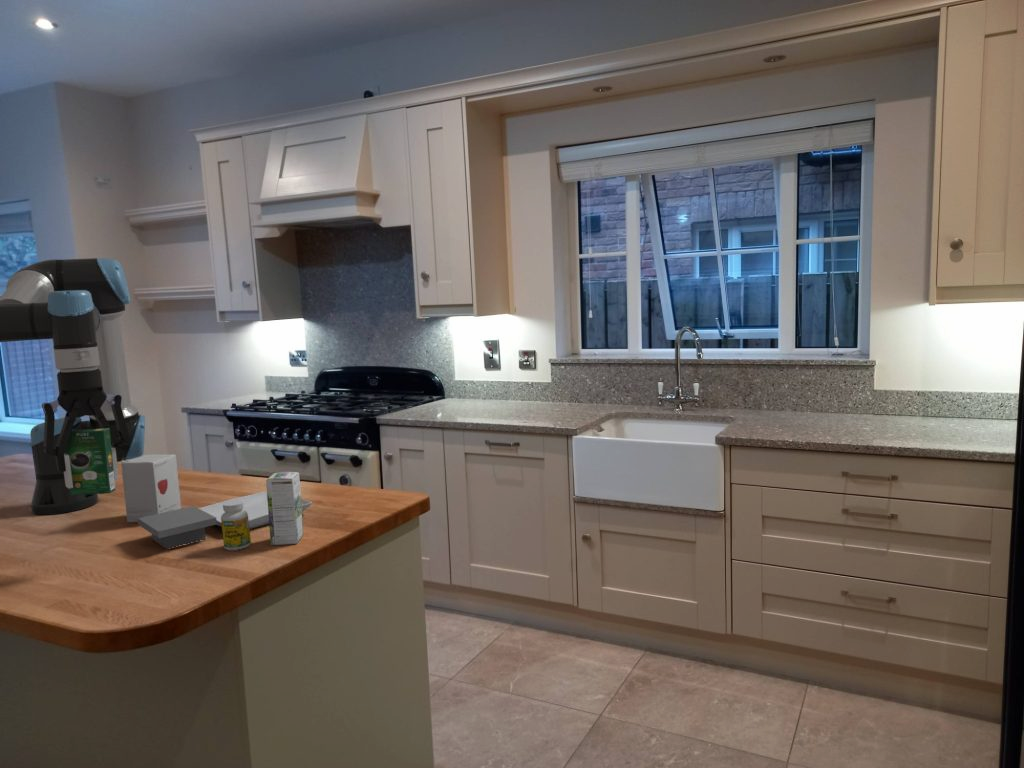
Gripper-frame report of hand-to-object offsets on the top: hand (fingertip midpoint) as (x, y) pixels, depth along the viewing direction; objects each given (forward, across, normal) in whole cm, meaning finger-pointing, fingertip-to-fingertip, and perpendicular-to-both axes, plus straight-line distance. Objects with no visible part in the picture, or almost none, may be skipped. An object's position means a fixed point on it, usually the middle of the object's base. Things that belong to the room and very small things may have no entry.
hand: (92, 482), depth 147 cm
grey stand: (+17, +16, +3) cm, 23 cm away
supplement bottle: (+17, +23, -12) cm, 31 cm away
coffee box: (+2, 0, 0) cm, 2 cm away
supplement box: (+17, +18, +26) cm, 36 cm away
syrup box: (+17, +32, -17) cm, 40 cm away
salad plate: (+18, +34, +6) cm, 39 cm away
